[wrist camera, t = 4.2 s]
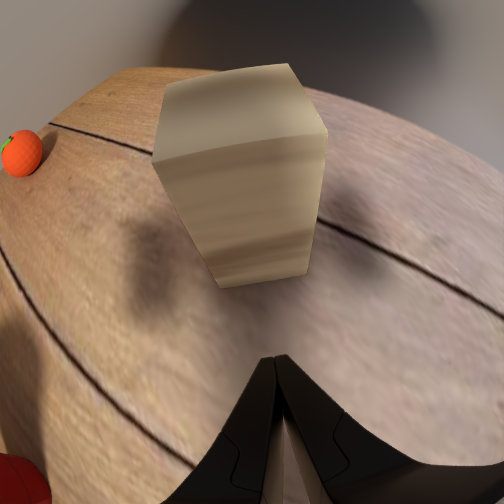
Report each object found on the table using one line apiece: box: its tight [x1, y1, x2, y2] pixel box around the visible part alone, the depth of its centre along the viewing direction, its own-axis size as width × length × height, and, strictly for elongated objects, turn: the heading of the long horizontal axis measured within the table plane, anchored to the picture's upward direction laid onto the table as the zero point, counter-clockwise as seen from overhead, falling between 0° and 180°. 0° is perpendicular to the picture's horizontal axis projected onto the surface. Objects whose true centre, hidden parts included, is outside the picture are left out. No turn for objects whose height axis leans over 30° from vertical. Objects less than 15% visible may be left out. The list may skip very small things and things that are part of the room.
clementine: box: [0, 130, 43, 177], centre depth 27 cm, size 8×7×7 cm
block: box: [152, 64, 328, 289], centre depth 15 cm, size 6×6×12 cm
